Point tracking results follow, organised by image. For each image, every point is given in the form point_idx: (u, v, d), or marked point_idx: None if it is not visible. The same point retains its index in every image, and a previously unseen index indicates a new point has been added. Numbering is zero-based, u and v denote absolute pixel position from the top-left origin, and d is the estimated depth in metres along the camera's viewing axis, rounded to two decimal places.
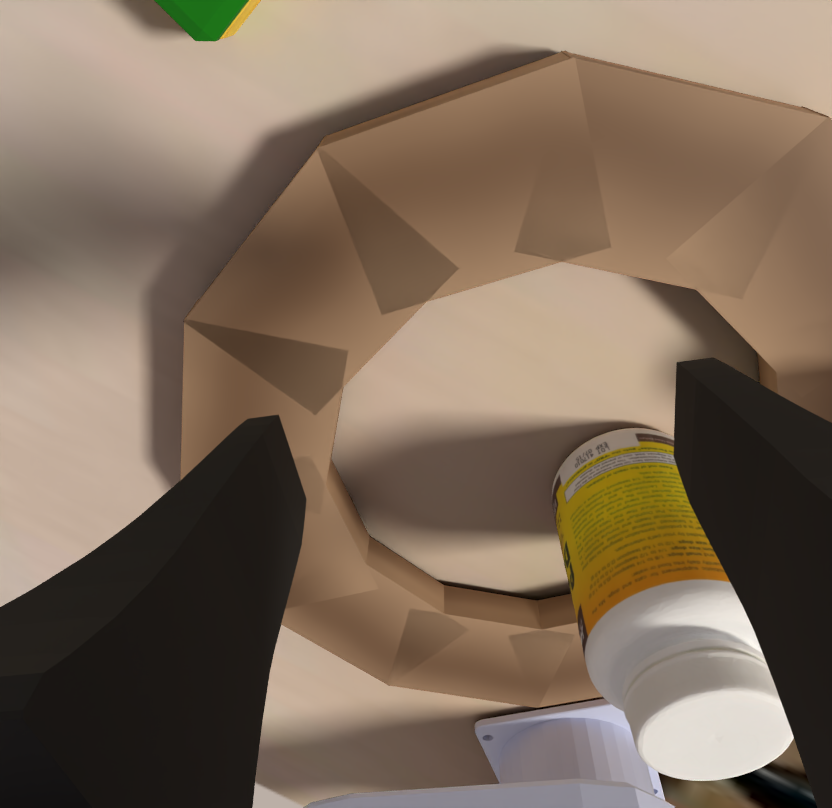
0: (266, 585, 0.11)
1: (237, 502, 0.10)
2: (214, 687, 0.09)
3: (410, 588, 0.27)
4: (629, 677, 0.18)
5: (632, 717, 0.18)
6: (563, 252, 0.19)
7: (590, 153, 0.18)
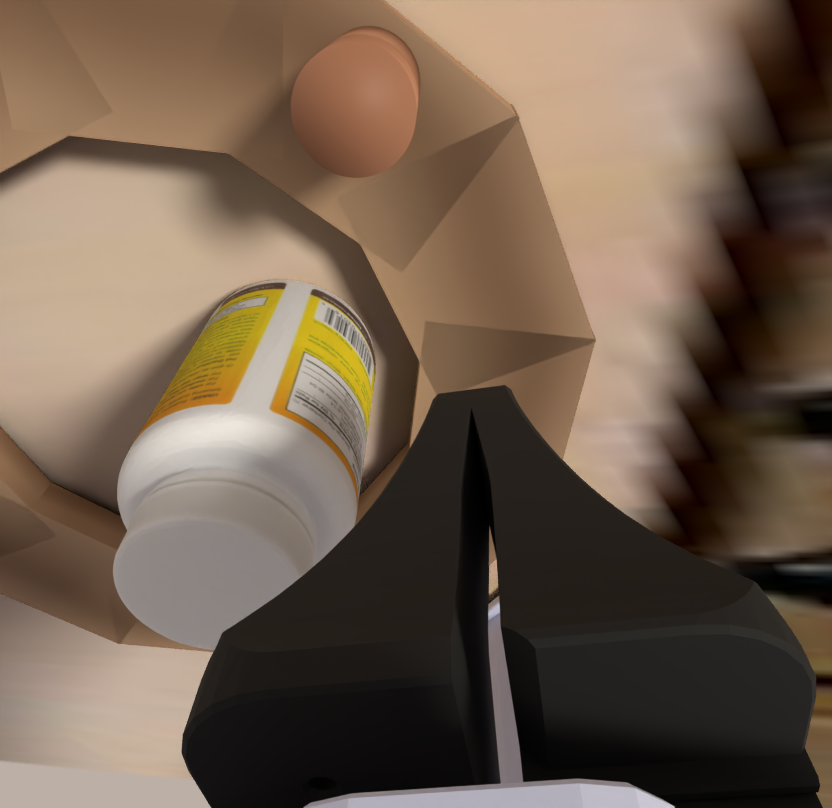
0: (481, 563, 0.11)
1: (468, 475, 0.10)
2: (481, 664, 0.09)
3: None
4: None
5: None
6: None
7: None
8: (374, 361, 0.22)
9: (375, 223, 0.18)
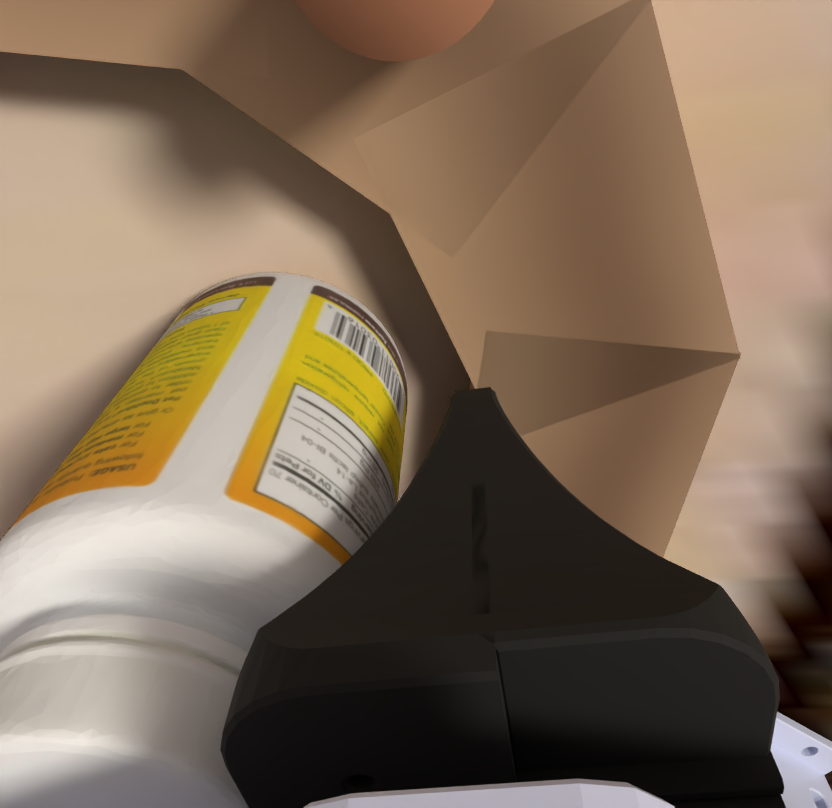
0: None
1: None
2: None
3: None
4: None
5: None
6: None
7: None
8: (406, 389, 0.15)
9: (413, 180, 0.12)
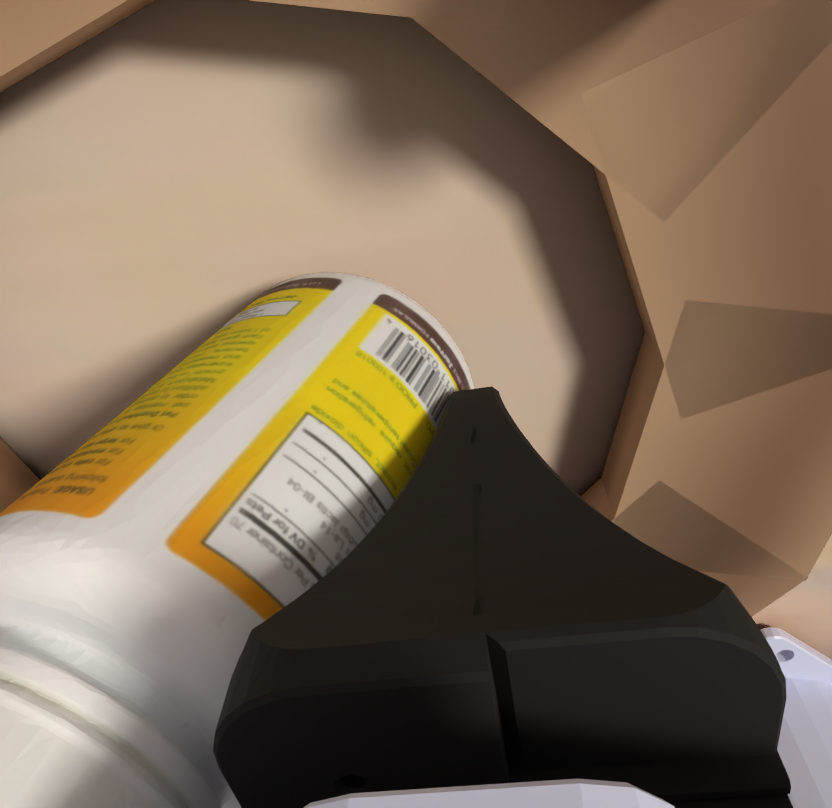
0: None
1: None
2: None
3: None
4: None
5: None
6: None
7: None
8: None
9: (636, 139, 0.11)
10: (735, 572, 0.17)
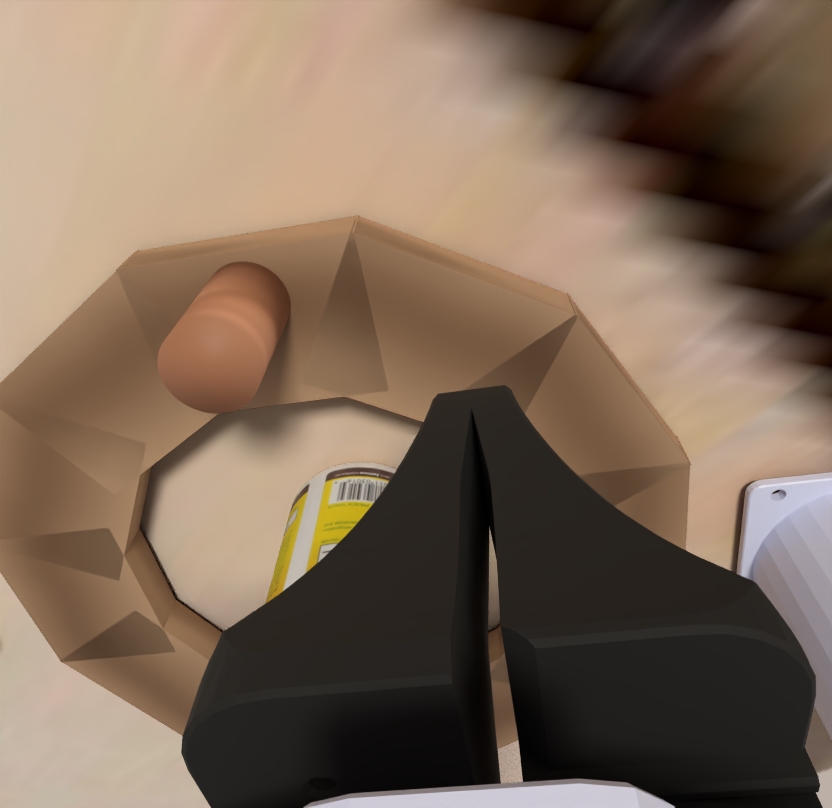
0: (481, 563, 0.11)
1: (468, 475, 0.10)
2: (481, 664, 0.09)
3: None
4: None
5: None
6: (116, 554, 0.25)
7: (40, 536, 0.25)
8: None
9: (339, 376, 0.21)
10: (643, 488, 0.23)
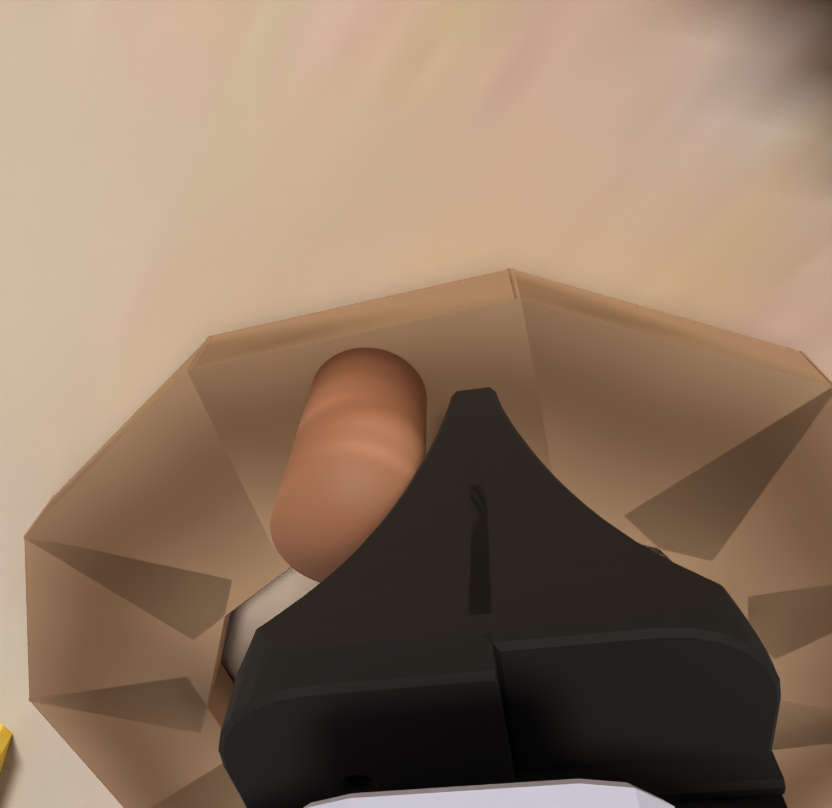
0: None
1: None
2: None
3: None
4: None
5: None
6: (197, 705, 0.20)
7: (102, 690, 0.20)
8: None
9: None
10: None
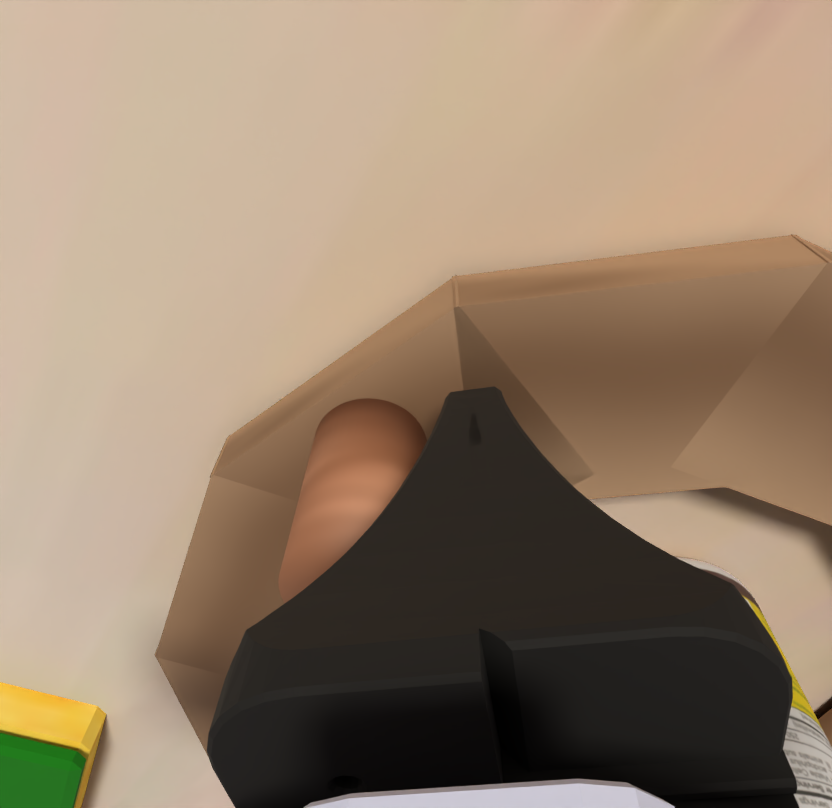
0: None
1: None
2: None
3: None
4: None
5: None
6: None
7: None
8: (744, 592, 0.18)
9: None
10: None
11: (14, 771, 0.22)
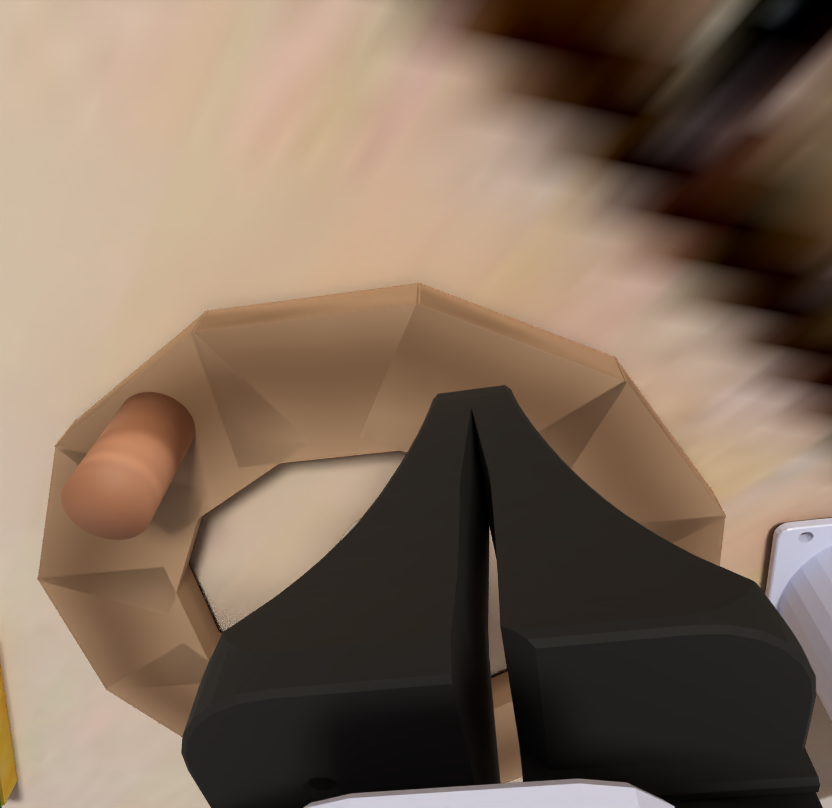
0: (481, 563, 0.11)
1: (468, 475, 0.10)
2: (481, 664, 0.09)
3: None
4: None
5: None
6: (202, 661, 0.28)
7: (141, 669, 0.29)
8: None
9: (264, 449, 0.22)
10: (599, 424, 0.22)
11: None
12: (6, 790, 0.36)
